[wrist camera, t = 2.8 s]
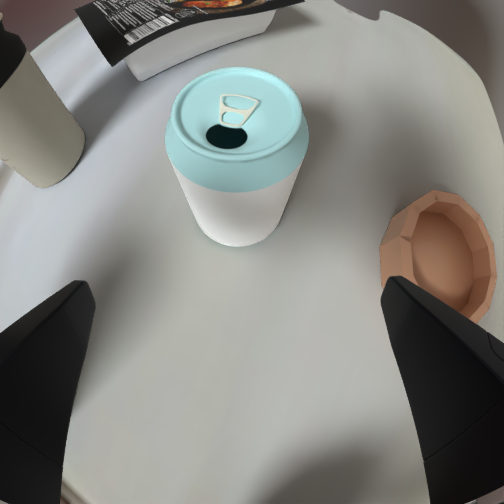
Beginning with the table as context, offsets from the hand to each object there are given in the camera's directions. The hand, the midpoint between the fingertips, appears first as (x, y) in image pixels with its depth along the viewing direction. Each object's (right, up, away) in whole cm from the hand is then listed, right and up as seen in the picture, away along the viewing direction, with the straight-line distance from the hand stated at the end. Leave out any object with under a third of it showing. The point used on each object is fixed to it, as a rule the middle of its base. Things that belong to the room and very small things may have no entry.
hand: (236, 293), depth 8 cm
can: (-1, +5, +15) cm, 16 cm away
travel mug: (-21, +11, +16) cm, 28 cm away
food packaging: (-10, +32, +21) cm, 40 cm away
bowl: (+17, 0, +15) cm, 22 cm away
